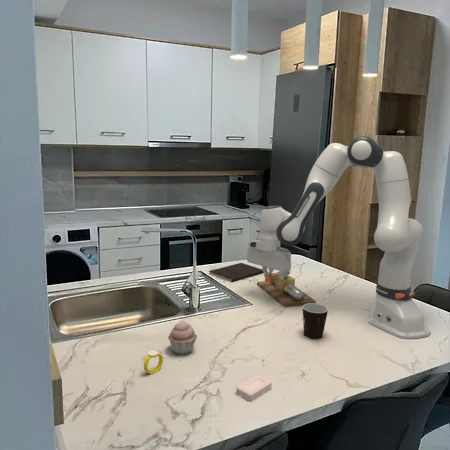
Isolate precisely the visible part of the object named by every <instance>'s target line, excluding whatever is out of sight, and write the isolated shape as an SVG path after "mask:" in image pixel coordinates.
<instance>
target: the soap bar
mask: <svg viewBox="0 0 450 450" xmlns="http://www.w3.org/2000/svg"><path fill="white" fill-rule="evenodd" d="M235 389H236V392H235V393H236V395H238V396H240V397H241V398H243V399H244V400H247V401H248V402H252V401H255V400H257V398H260V396H263V395H264V394H265V393H267V392H268V391H270V390H272V381H271V380H269V379H267V378H265V377H263V376H261V375H259V374H256V375H254V376H252V377H250V378H249V379H247V380H245V381H244V382H242V383H240V384H238V385H236V388H235Z"/></svg>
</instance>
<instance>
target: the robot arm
mask: <svg viewBox="0 0 450 450" xmlns="http://www.w3.org/2000/svg"><path fill="white" fill-rule="evenodd" d="M350 166H354V167H358V168H363V169H365V168H371V169H372V170H373V173H374V177H375V184H376V190H377V199H378V216H377V224H376V225H377V227H376V229H375V231H374V235H373V240H374V241H373V242H374V243H375V246H376V247H377V248H378V249H379V250H380V251H382V252H384V254H383V257H382V258H381V261H380V262H379V270H378V279H377V280H378V281H377V282H376V285H375V292H376V294H375V298H374V301H373V304H372V307H371V308H372V309H371V312H370V315H369V318H368V320H367V323H368V324H371V325H372V326H374V327H377V328H379V329H380V330H383V331H385V332H387V333H389V334H392V336H393V335H394V336H395V337H396V338H400V339H410V340H412V339H420V338H425V337H428V336H430V335H431V334H432V330H430V328H427V326H425V316H424V314H423V312H422V310H421V309H420V308H419V307H418V306H417V304H416V303H415V301H414V300H413V296H415V292H412V289H411V277H412V271H413V270H412V269H413V265H414V261H415V259H416V256H417V255H416V254H417V252H418V249H419V245H420V241H421V239H422V237H423V234H424V228H423V226H422V224H421V223H420V222H419V221H418V220H417V219H415V218H410V217H409V214H410V207H411V204H412V197H411V196H412V195H411V194H412V193H411V188H410V180H409V174H408V170H407V165H406V162H405V158H404V157H403V155H402V153H400V152H399V151H393V150H388V151H384V150H383V149H382V148H381V146H380V145H379V143H378V142H377V141H376V140H375V139H373V137H370V136H368V135H359V136H357V137H355V138H353V139H352V140H350V142H349V143H348V145H344V144H342V143H339V142H332V143H330V144H328V145H327V147H325V148H324V150H323V151H322V152H321V153H320V155H319V157H318V158H317V159H316V161H315V162H314V164H313V166H312V168H311V170H310V171H309V174H308V177H307V179H306V183H305V185H304V186H305V187H304V191H303V193H302V196H301V197H300V200H299V201H298V203H297V204H296V206H295V208H294V209H293V211H292V213H291V212H289V211H288V210H285V209H284V208H283V207H282V206H280V205H268V206H265V207H264V208H263V209H262V210H261V212H260V213H261V214H260V219H259V231H260V232H259V235H258V239H253V240H250V241H248V246H249V247H248V248H247V249H246V251H247V252H246V261H247V263H249V264H254V265H258V266H260V267H261V269H262V270H263V272H264V273H263V276H264V277H263V278H265V276H267V275H270V274H271V273H274V270H275V271H278V272H279V271H282V272H288V271H289V270H290V271H291V269H292V259H291V257H292V252H291V251H290V250H289V249H288V248H284V247H281V244H282V245H285V246H287V247H293V246H296V245H299V243H300V242H301V241H302V239H303V237H304V233H305V228H306V224H307V221H309V218H310V216H311V215H312V213H313V212H314V210H315V209H316V207H317V205H318V204H319V202H321V201H322V200H323V198H325V196H327V195H328V194H329V193H330V192H331V191H332V189H333V188H334V187H335V185H336V184H337V183H338V181H339V180H340V178H341V177H342V176H343V173H344V172H345V171H346V170H347V168H349V167H350Z"/></svg>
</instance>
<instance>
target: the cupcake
mask: <svg viewBox="0 0 450 450" xmlns="http://www.w3.org/2000/svg"><path fill="white" fill-rule="evenodd" d="M197 337H198V335H197V334H196V332H195V330H194V327H193V326H192V324H189V323H187V322H186V321H184V320H181V321H180V322H178V323H176V324H175V325H174V327H173V328H171V332H169V333H168V336H167V339H168V340H169V342H170V346H171V350H172V352H173V353H174V354H176V355H180V356H181V355H183V356H186V355H189V354H191V353H192V352H193V350H194V345H195V343H196V341H197Z"/></svg>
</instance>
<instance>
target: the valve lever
mask: <svg viewBox="0 0 450 450" xmlns="http://www.w3.org/2000/svg"><path fill="white" fill-rule="evenodd" d="M290 272H291V269H290V270H289V271H288V272H282V271H279V270H278V271H277V272H275V273H274V272H272V274H270V275H267V276H265V277H264V281H266V282H272V281H274V280H277V279H278V277H281V276H283V275H290V274H291V273H290Z"/></svg>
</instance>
